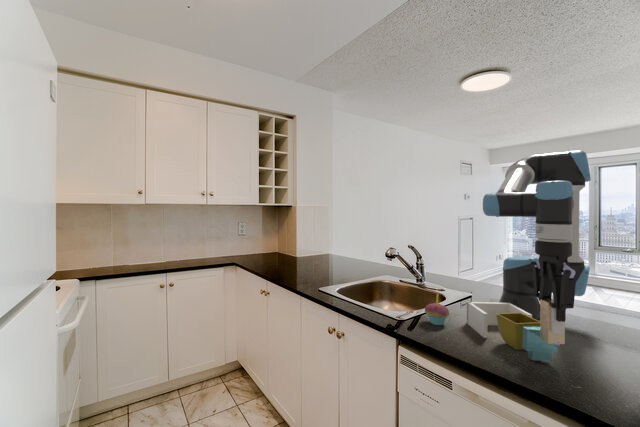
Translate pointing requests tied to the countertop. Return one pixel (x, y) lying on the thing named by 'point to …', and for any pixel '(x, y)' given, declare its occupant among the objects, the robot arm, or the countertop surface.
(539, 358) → the rod
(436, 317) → the cupcake
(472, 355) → the countertop surface
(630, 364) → the countertop surface
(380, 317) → the countertop surface
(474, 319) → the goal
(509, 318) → the flower pot
